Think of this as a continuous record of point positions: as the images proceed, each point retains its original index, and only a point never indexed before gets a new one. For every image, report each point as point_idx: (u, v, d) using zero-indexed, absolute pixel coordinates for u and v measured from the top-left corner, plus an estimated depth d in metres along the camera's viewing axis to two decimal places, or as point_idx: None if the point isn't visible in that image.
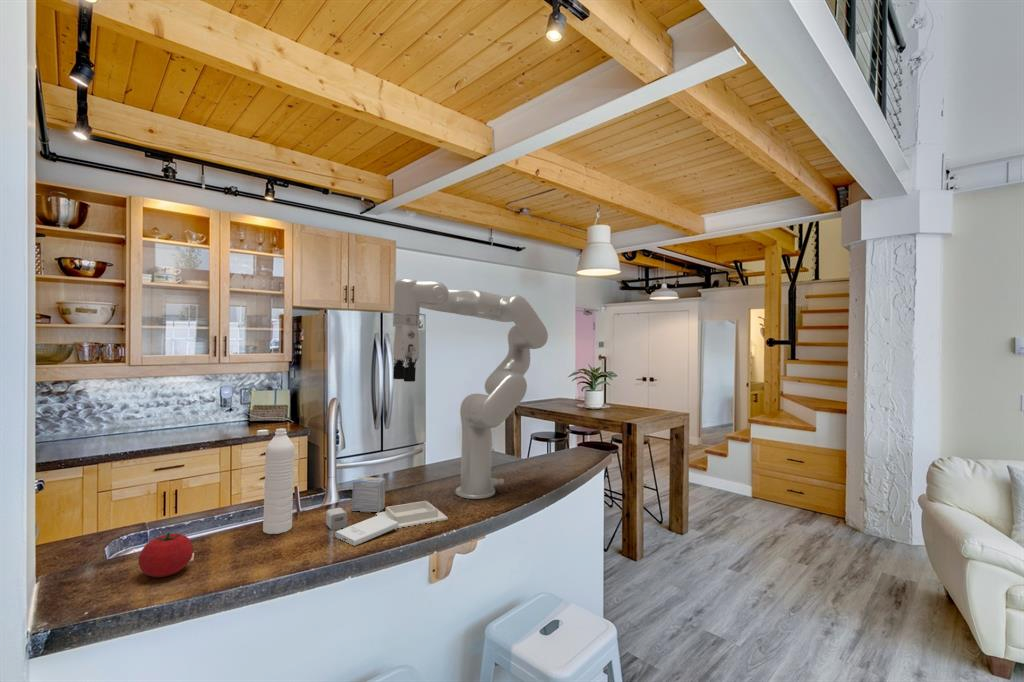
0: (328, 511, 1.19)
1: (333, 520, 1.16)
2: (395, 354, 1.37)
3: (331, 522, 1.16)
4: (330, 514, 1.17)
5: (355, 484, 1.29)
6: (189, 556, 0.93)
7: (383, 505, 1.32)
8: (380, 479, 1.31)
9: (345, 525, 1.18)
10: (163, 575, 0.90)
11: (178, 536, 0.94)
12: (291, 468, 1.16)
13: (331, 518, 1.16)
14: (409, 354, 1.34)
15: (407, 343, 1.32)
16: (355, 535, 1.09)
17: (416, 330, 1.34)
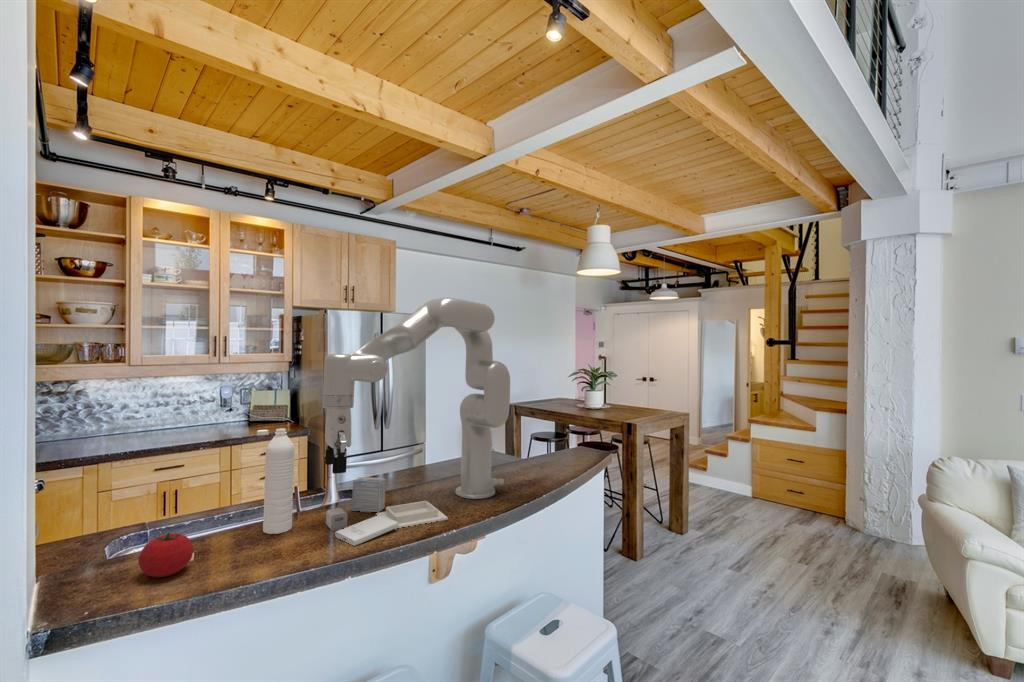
0: (328, 511, 1.19)
1: (333, 520, 1.16)
2: (326, 438, 1.21)
3: (331, 522, 1.16)
4: (330, 514, 1.17)
5: (355, 484, 1.29)
6: (189, 556, 0.93)
7: (383, 505, 1.32)
8: (380, 479, 1.31)
9: (345, 525, 1.18)
10: (163, 575, 0.90)
11: (178, 536, 0.94)
12: (291, 468, 1.16)
13: (331, 518, 1.16)
14: (340, 440, 1.17)
15: (336, 429, 1.15)
16: (355, 535, 1.09)
17: (348, 413, 1.17)
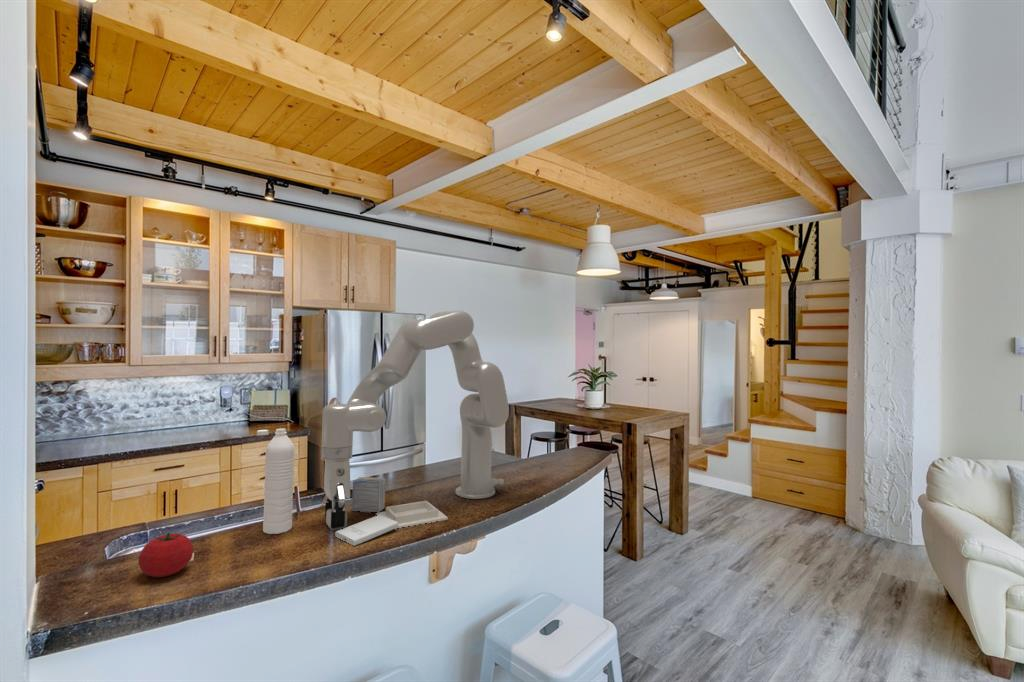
0: (328, 511, 1.19)
1: None
2: (325, 489, 1.20)
3: None
4: (330, 514, 1.17)
5: (355, 484, 1.29)
6: (189, 556, 0.93)
7: (383, 505, 1.32)
8: (380, 479, 1.31)
9: (345, 525, 1.18)
10: (163, 575, 0.90)
11: (178, 536, 0.94)
12: (291, 468, 1.16)
13: None
14: None
15: (335, 482, 1.15)
16: (355, 535, 1.09)
17: (347, 465, 1.17)
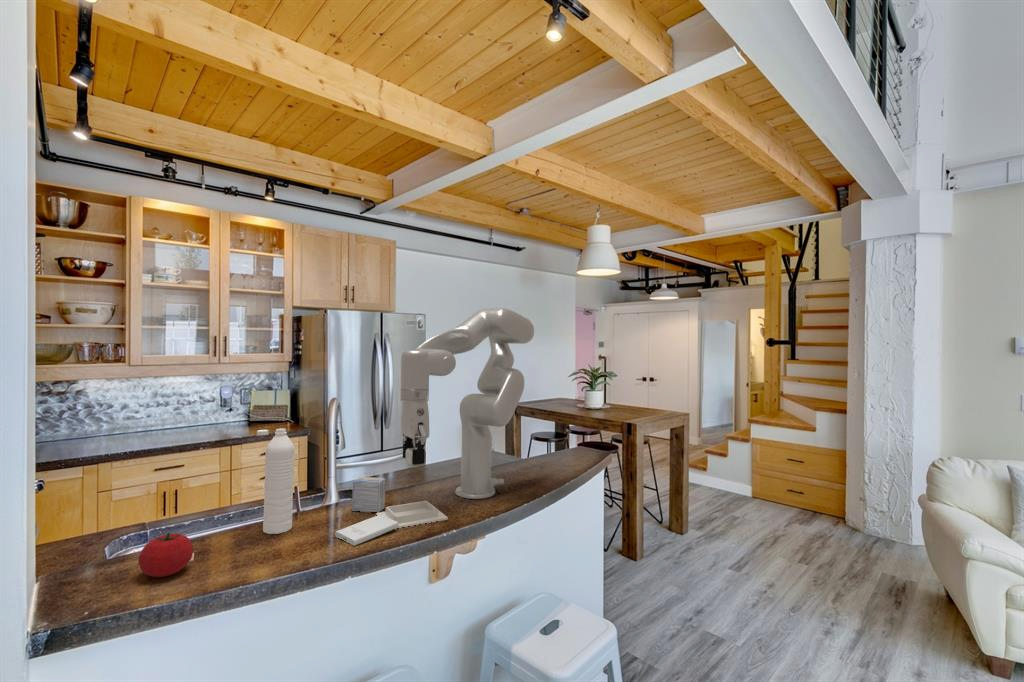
0: (408, 449, 1.26)
1: None
2: (403, 430, 1.27)
3: None
4: (410, 452, 1.24)
5: (355, 484, 1.29)
6: (189, 556, 0.93)
7: (383, 505, 1.32)
8: (380, 479, 1.31)
9: (424, 462, 1.25)
10: (163, 575, 0.90)
11: (178, 536, 0.94)
12: (291, 468, 1.16)
13: None
14: (418, 432, 1.24)
15: (416, 421, 1.22)
16: (355, 535, 1.09)
17: (426, 406, 1.24)
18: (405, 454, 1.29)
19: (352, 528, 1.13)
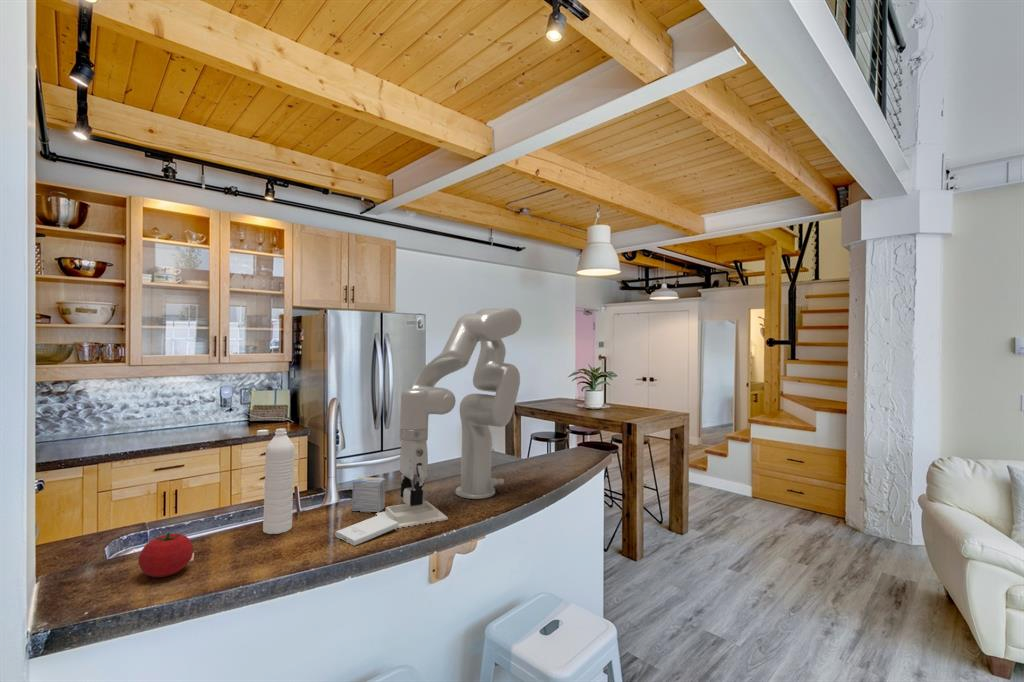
0: (406, 489, 1.25)
1: None
2: (402, 469, 1.27)
3: None
4: (408, 492, 1.23)
5: (355, 484, 1.29)
6: (189, 556, 0.93)
7: (383, 505, 1.32)
8: (380, 479, 1.31)
9: (422, 503, 1.24)
10: (163, 575, 0.90)
11: (178, 536, 0.94)
12: (291, 468, 1.16)
13: None
14: (417, 473, 1.24)
15: (415, 462, 1.22)
16: (355, 535, 1.09)
17: (425, 446, 1.24)
18: (403, 493, 1.28)
19: (352, 528, 1.13)
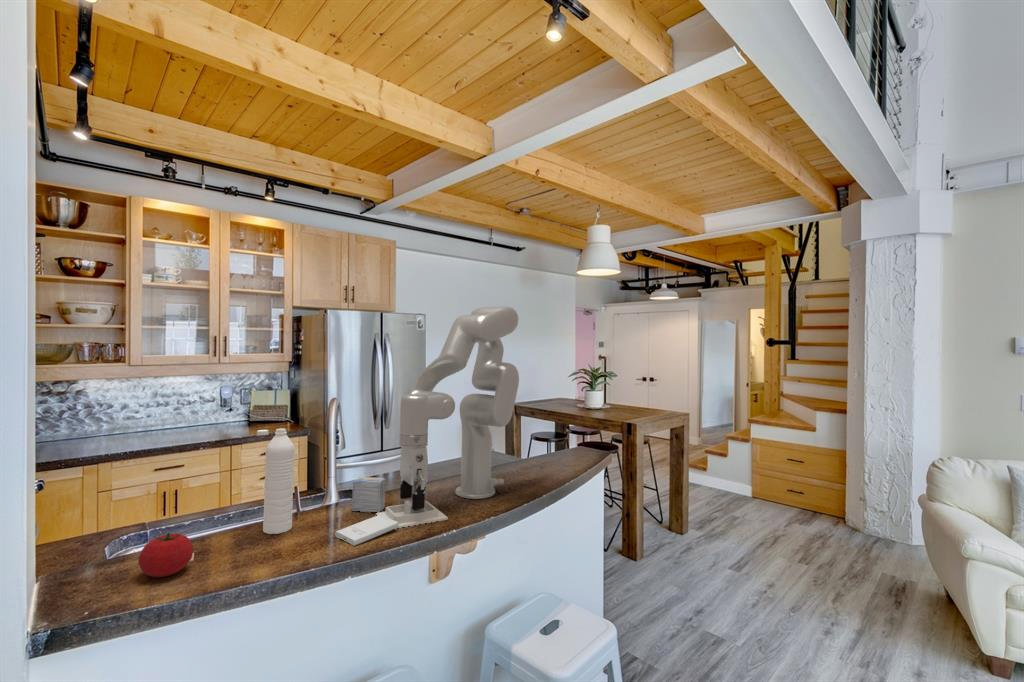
0: (406, 501, 1.25)
1: (412, 510, 1.23)
2: (402, 474, 1.27)
3: (410, 512, 1.23)
4: (409, 504, 1.23)
5: (355, 484, 1.29)
6: (189, 556, 0.93)
7: (383, 505, 1.32)
8: (380, 479, 1.31)
9: None
10: (163, 575, 0.90)
11: (178, 536, 0.94)
12: (291, 468, 1.16)
13: (410, 508, 1.23)
14: (417, 478, 1.24)
15: (415, 468, 1.22)
16: (355, 535, 1.09)
17: (425, 452, 1.24)
18: None
19: (352, 528, 1.13)
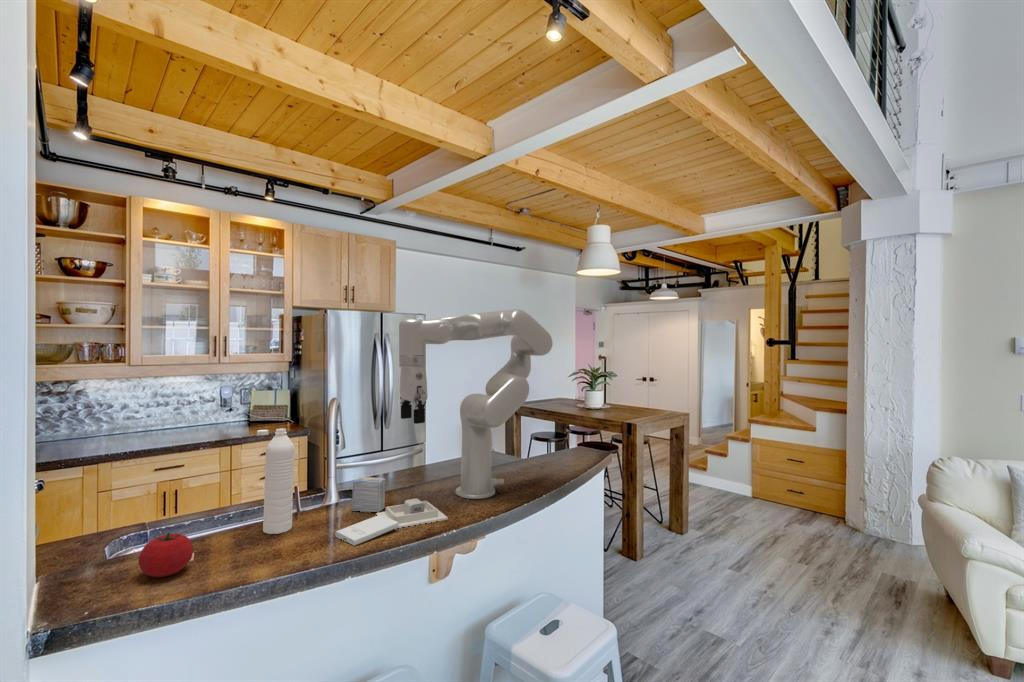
0: (406, 501, 1.25)
1: (412, 510, 1.23)
2: (402, 394, 1.36)
3: (410, 512, 1.23)
4: (409, 504, 1.23)
5: (355, 484, 1.29)
6: (189, 556, 0.93)
7: (383, 505, 1.32)
8: (380, 479, 1.31)
9: None
10: (163, 575, 0.90)
11: (178, 536, 0.94)
12: (291, 468, 1.16)
13: (410, 508, 1.23)
14: (417, 395, 1.33)
15: (415, 385, 1.31)
16: (355, 535, 1.09)
17: (424, 371, 1.33)
18: None
19: (352, 528, 1.13)
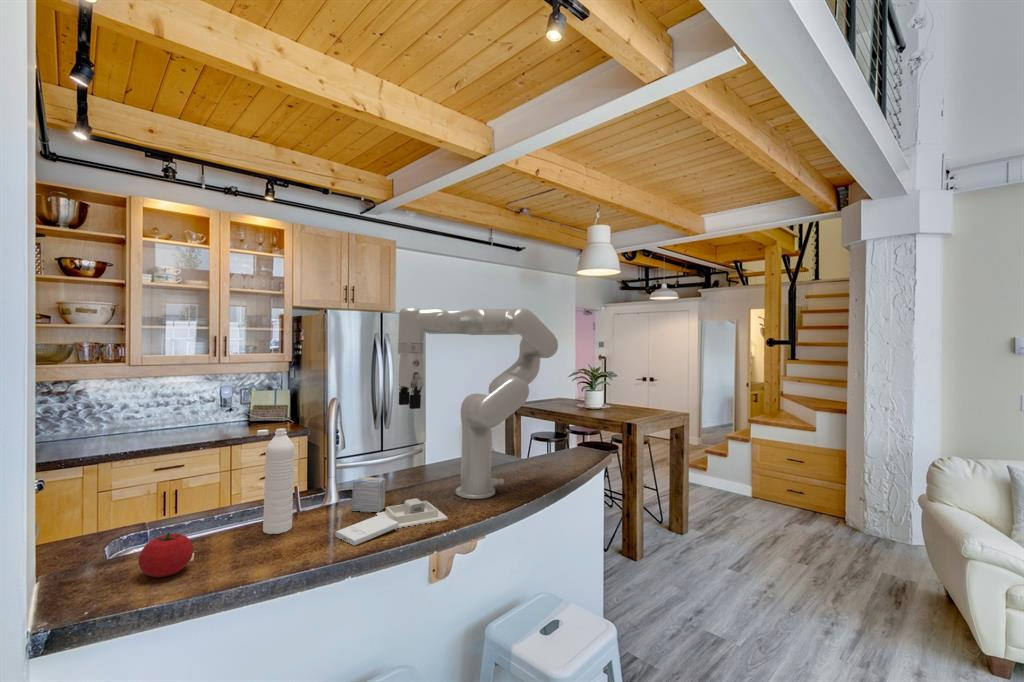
0: (406, 501, 1.25)
1: (412, 510, 1.23)
2: (400, 381, 1.40)
3: (410, 512, 1.23)
4: (409, 504, 1.23)
5: (355, 484, 1.29)
6: (189, 556, 0.93)
7: (383, 505, 1.32)
8: (380, 479, 1.31)
9: None
10: (163, 575, 0.90)
11: (178, 536, 0.94)
12: (291, 468, 1.16)
13: (410, 508, 1.23)
14: (414, 381, 1.37)
15: (412, 371, 1.35)
16: (355, 535, 1.09)
17: (421, 358, 1.37)
18: None
19: (352, 528, 1.13)
